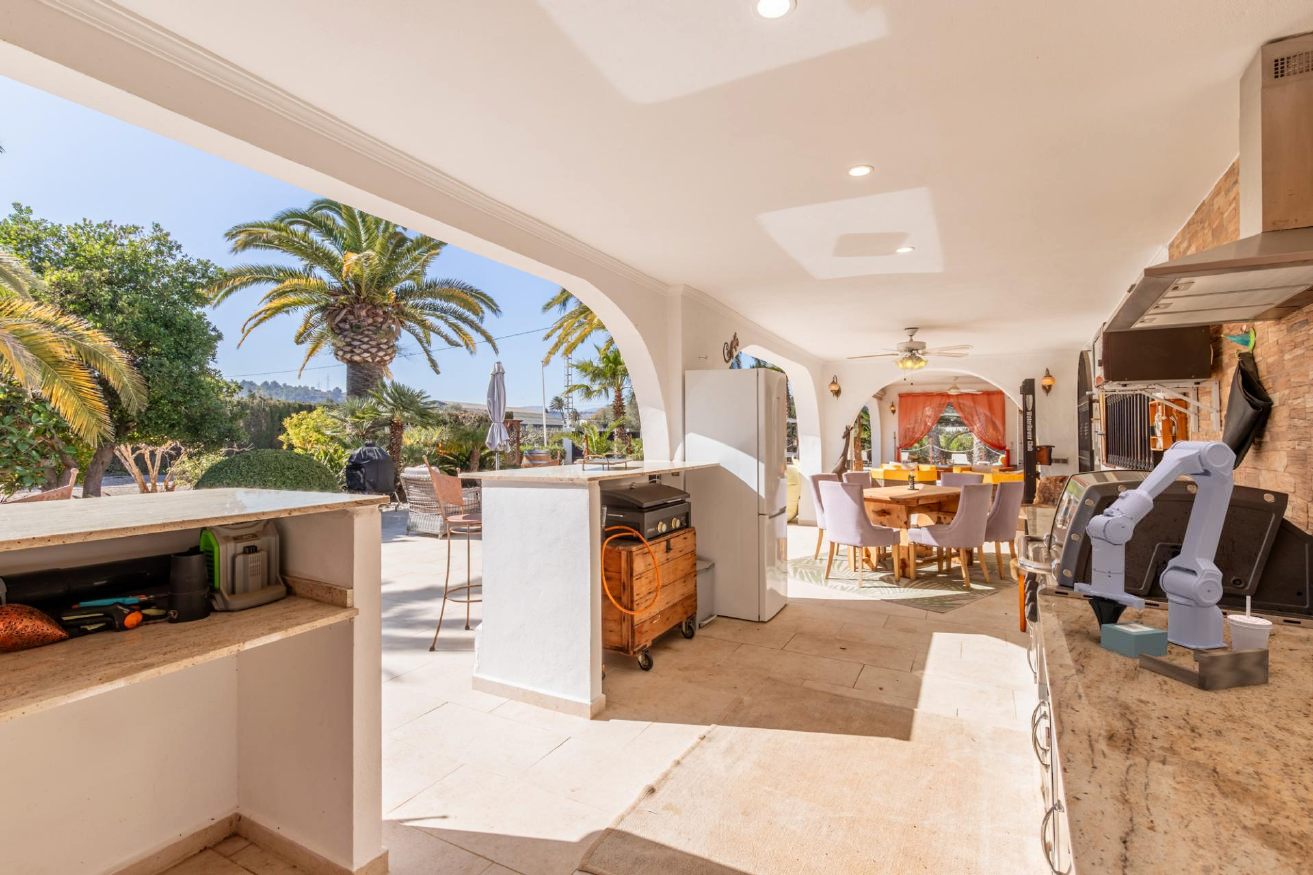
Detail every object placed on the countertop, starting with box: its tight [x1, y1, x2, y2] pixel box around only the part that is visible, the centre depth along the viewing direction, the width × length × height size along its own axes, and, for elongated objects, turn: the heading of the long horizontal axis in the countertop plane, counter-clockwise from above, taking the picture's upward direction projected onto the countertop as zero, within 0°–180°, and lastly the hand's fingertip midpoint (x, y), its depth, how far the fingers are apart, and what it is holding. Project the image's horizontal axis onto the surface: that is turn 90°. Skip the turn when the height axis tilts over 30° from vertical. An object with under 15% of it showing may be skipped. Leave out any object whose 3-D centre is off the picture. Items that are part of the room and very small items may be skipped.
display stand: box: [1138, 647, 1270, 691], centre depth 116 cm, size 15×12×6 cm
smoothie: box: [1226, 595, 1274, 651], centre depth 119 cm, size 6×6×14 cm
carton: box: [1100, 621, 1169, 660], centre depth 129 cm, size 9×7×5 cm
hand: (1107, 633), depth 134 cm, fingers closed
